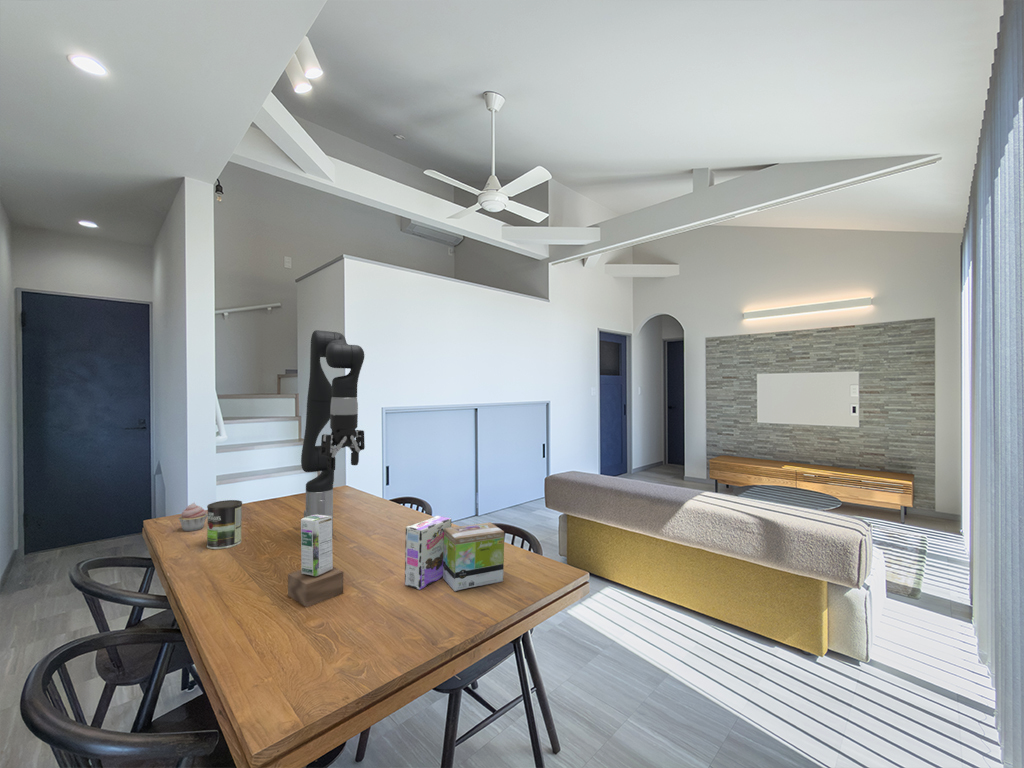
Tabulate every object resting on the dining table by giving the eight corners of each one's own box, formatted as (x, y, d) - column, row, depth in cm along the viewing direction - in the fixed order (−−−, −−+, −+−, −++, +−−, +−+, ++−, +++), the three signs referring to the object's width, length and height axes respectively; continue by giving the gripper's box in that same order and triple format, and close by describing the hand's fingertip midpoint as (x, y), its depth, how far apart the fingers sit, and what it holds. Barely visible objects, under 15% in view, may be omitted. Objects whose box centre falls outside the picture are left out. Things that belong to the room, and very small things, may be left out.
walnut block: (287, 596, 119) (288, 573, 119) (323, 583, 127) (324, 562, 127) (306, 608, 113) (306, 584, 113) (343, 594, 120) (343, 571, 120)
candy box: (419, 590, 122) (420, 530, 122) (404, 585, 125) (404, 526, 125) (452, 572, 134) (452, 517, 134) (436, 568, 137) (437, 514, 137)
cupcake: (212, 527, 174) (212, 502, 174) (184, 534, 166) (185, 507, 166) (201, 523, 179) (201, 498, 179) (173, 530, 171) (173, 503, 171)
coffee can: (220, 551, 150) (220, 508, 150) (199, 546, 154) (200, 505, 154) (248, 541, 160) (249, 501, 160) (228, 537, 163) (228, 498, 163)
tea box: (454, 593, 121) (455, 538, 121) (442, 578, 130) (442, 527, 130) (504, 582, 128) (504, 529, 128) (489, 569, 137) (489, 520, 137)
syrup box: (300, 574, 119) (299, 518, 119) (318, 566, 124) (317, 513, 124) (316, 577, 116) (314, 520, 117) (334, 569, 122) (332, 514, 122)
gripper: (353, 410, 140) (352, 462, 140) (314, 413, 127) (313, 470, 128) (371, 411, 137) (370, 465, 137) (333, 415, 124) (332, 473, 124)
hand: (343, 467), depth 132 cm, fingers open, 8 cm apart
